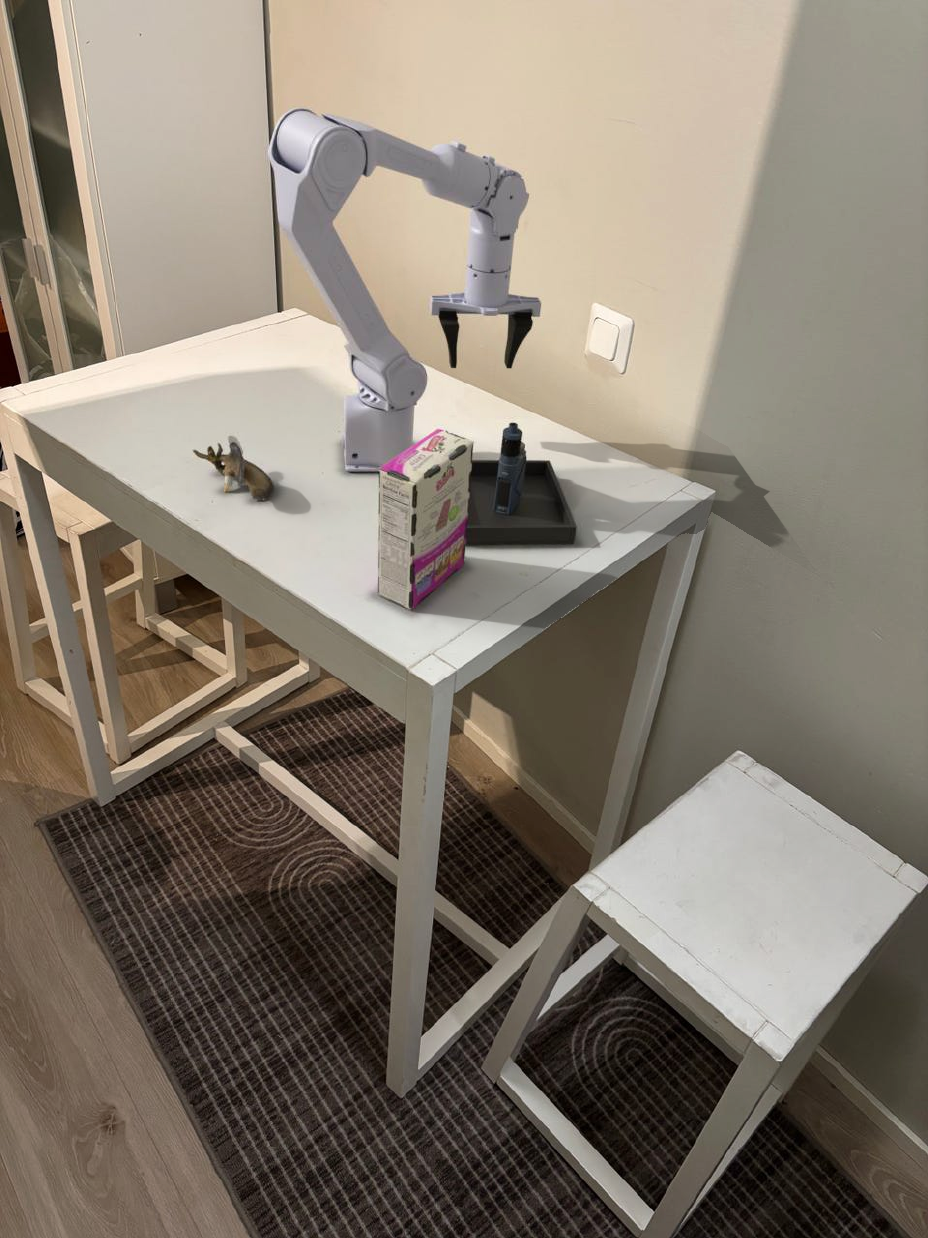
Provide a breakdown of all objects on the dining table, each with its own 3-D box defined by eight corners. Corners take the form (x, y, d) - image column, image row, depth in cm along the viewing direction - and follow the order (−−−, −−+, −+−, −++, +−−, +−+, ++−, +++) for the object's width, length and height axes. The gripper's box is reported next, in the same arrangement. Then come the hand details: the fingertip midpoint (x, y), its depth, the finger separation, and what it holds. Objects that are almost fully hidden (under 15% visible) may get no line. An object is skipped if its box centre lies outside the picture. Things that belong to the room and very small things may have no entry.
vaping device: (490, 512, 121) (499, 426, 114) (504, 493, 125) (514, 408, 117) (509, 517, 120) (520, 431, 113) (523, 498, 124) (534, 413, 117)
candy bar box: (429, 550, 114) (438, 425, 104) (465, 566, 112) (477, 440, 102) (373, 595, 107) (376, 465, 96) (410, 613, 105) (418, 482, 94)
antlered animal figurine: (184, 481, 120) (235, 495, 115) (197, 425, 119) (249, 436, 114) (229, 492, 126) (278, 505, 122) (241, 438, 126) (291, 450, 121)
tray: (459, 545, 116) (461, 528, 114) (443, 476, 128) (444, 459, 126) (574, 544, 118) (577, 527, 116) (547, 476, 130) (549, 460, 129)
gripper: (436, 275, 119) (431, 377, 128) (550, 277, 121) (537, 378, 130) (430, 255, 124) (425, 355, 133) (539, 258, 127) (528, 356, 135)
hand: (480, 365), depth 132 cm, fingers open, 7 cm apart
